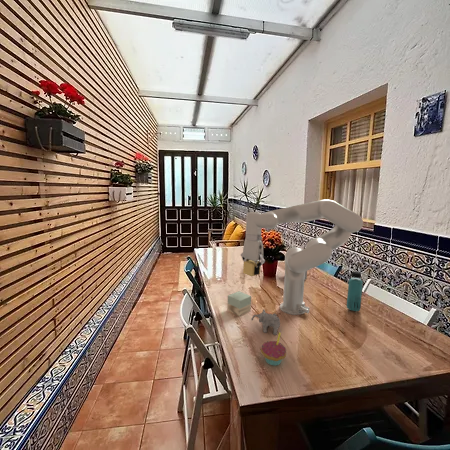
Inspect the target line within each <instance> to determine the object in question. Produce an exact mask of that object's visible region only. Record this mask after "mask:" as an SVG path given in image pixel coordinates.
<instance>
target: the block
mask: <svg viewBox="0 0 450 450" xmlns="http://www.w3.org/2000/svg"><path fill="white" fill-rule="evenodd" d="M257 264H258V262H257ZM261 266H262V265H261ZM261 266H260V268H261ZM254 268H255V262H254V261H252V260H248V261H243V266H242V270H243V271H242V273H243V274H244V275H247V276H249V277H255V276H258V275H261V269H260V270H259V274H257V275H254Z"/></svg>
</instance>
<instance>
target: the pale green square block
mask: <svg viewBox="0 0 450 450" xmlns="http://www.w3.org/2000/svg"><path fill="white" fill-rule="evenodd" d="M228 304H230V305H232V306H234V307H237V308H239V309H241V308H243V307H245V306H247V305H249V304H251V305H252V295H250V294H247V293H244V292H242V291H236V292H234V293H231V294H228V295H227V305H228Z"/></svg>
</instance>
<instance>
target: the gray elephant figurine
mask: <svg viewBox="0 0 450 450" xmlns="http://www.w3.org/2000/svg"><path fill="white" fill-rule="evenodd" d="M255 317H256V318H258V322H259V323H261V324H262V331H263V334H267V333H268V327H269V328H273V330H272V334H273V335H274V336H276V335H277V336H278V330H279V328H280V326H281V319H280V317H279V316H278V314H277V313H274V312H273V314H272V313H267V312H266V309H264V308H263V310H262V312H260V313H259V314H253V316H252V317H251V319H250V320H251V321H254V318H255Z"/></svg>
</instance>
